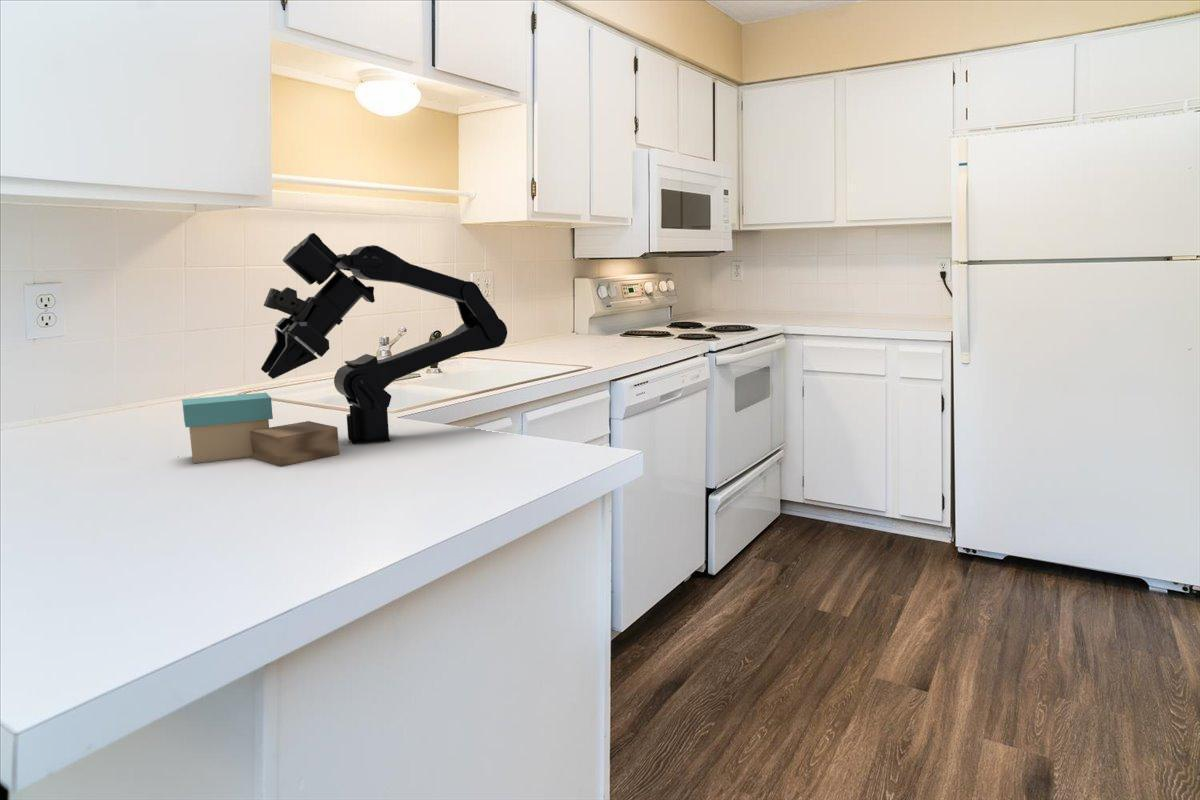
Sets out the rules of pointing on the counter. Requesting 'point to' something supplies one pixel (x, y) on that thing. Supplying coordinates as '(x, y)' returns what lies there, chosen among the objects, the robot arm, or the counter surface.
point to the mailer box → (223, 440)
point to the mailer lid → (227, 409)
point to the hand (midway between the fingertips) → (266, 373)
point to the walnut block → (294, 443)
